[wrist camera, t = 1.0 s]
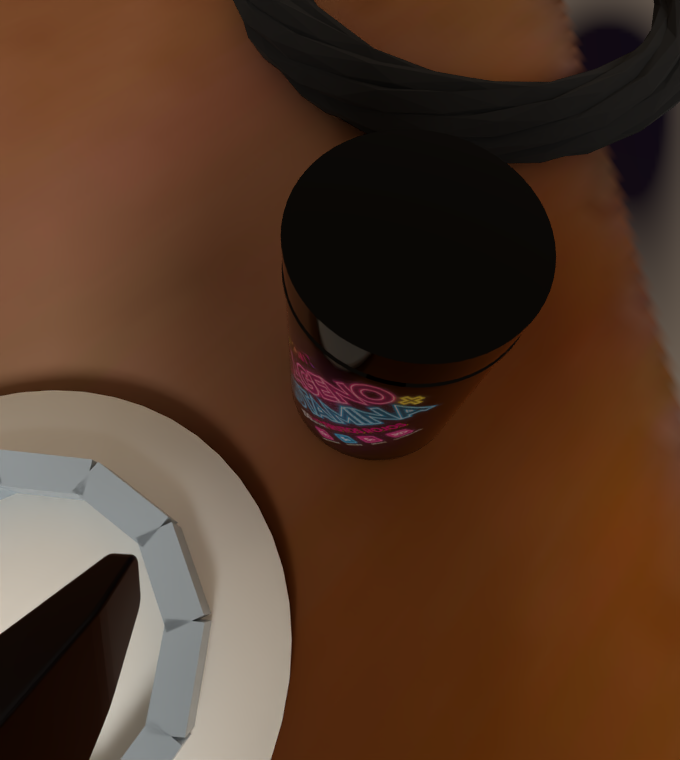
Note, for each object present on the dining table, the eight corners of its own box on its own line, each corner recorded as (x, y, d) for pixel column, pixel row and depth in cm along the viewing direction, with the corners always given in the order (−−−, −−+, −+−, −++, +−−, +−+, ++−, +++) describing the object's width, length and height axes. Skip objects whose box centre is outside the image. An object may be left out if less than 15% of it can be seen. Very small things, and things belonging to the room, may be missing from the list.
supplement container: (278, 323, 24) (261, 141, 14) (431, 302, 25) (512, 115, 15) (304, 479, 22) (304, 386, 12) (471, 450, 23) (596, 341, 13)
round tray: (378, 800, 18) (388, 830, 16) (-240, 1154, 15) (-342, 1258, 12) (192, 334, 24) (179, 306, 21) (-293, 512, 20) (-371, 501, 18)
